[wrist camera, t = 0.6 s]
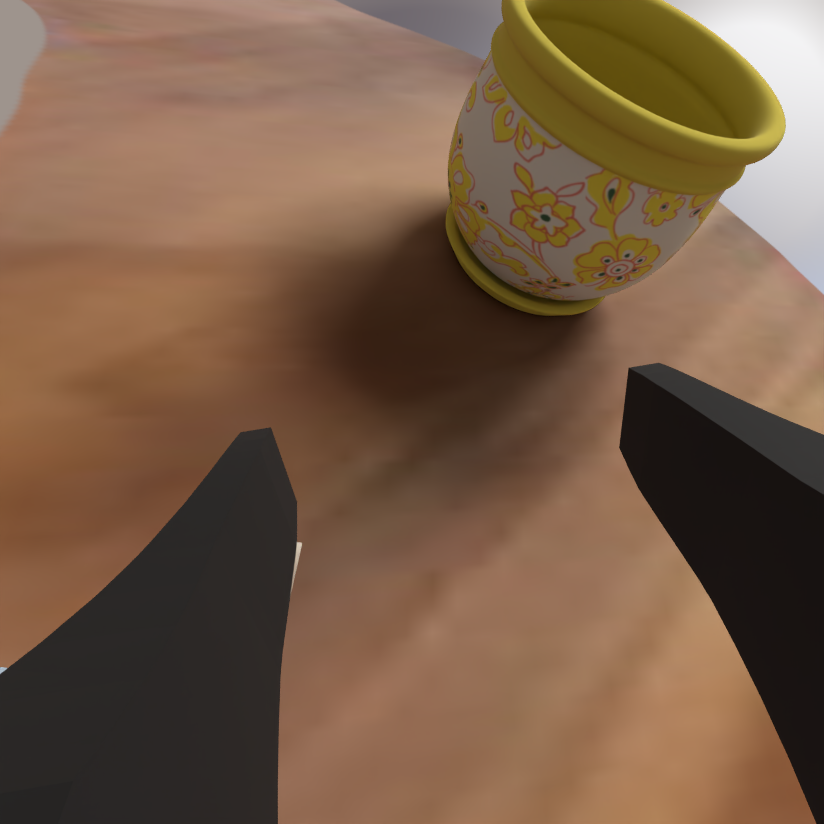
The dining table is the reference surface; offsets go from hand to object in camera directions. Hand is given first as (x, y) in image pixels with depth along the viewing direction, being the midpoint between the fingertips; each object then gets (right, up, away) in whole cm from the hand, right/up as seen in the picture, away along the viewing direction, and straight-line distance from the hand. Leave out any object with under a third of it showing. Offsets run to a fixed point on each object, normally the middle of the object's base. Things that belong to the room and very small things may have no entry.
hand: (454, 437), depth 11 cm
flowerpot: (+8, +13, +33) cm, 37 cm away
